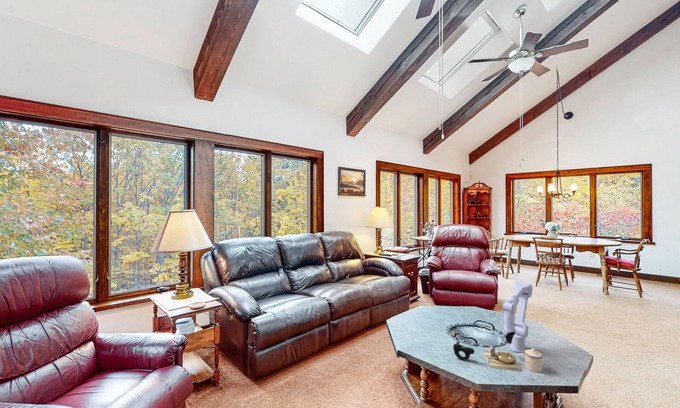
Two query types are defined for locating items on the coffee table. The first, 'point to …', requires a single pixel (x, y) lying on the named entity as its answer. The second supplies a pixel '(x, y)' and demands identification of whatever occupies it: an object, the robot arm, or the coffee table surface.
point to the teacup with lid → (532, 360)
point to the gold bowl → (502, 356)
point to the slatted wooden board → (497, 364)
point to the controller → (464, 349)
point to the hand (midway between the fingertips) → (509, 343)
